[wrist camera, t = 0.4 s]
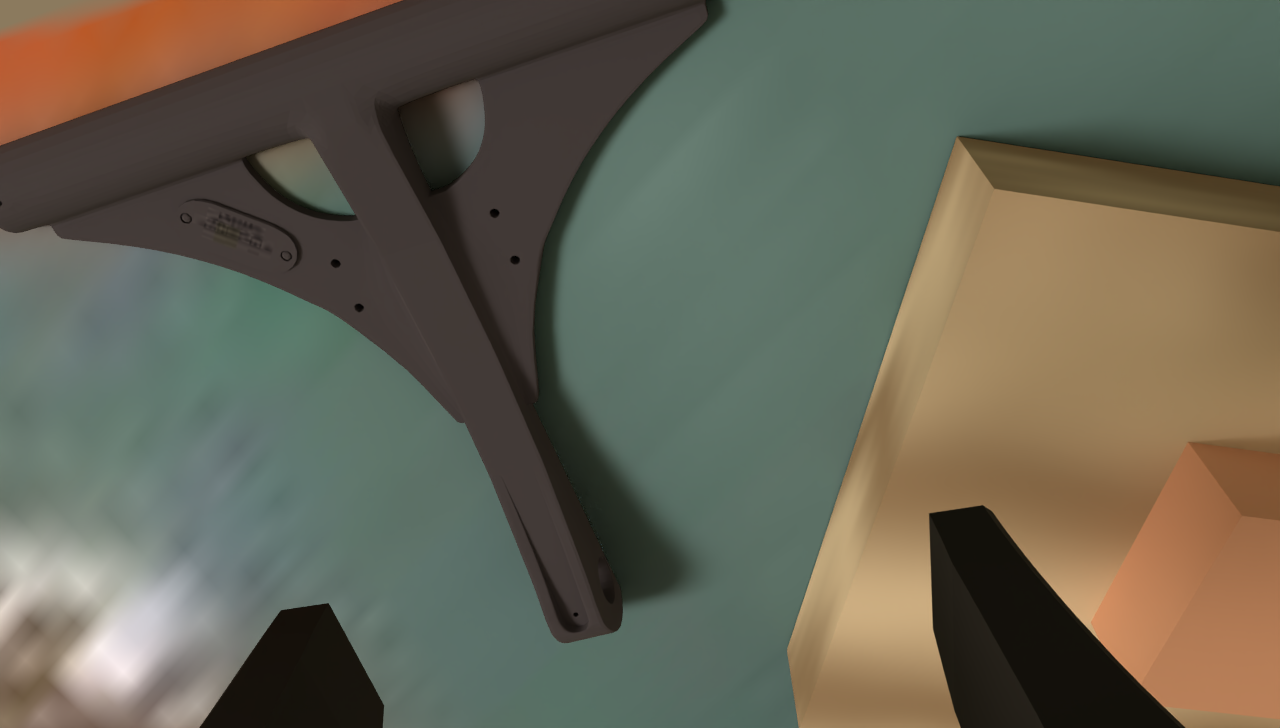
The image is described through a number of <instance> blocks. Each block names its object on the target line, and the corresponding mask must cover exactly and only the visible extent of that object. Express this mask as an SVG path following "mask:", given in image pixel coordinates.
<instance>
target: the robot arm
mask: <svg viewBox="0 0 1280 728" xmlns="http://www.w3.org/2000/svg"><path fill="white" fill-rule="evenodd" d="M929 530H930V560H931V590H932V620H933V631H934V635H935V639H936V643H937V647H938V651H939V654H940V658H941V662H942V666H943V670H944V674H945V678H946V681H947V685H948V689H949V692H950V696H951V700H952V704H953V707H954V711H955V714H956V716H957V719H958V722H959V725H960V727H961V728H1185V727H1184V726H1183V725H1182V724H1181V723H1180V722H1179V721H1178V720H1177V719H1176V718H1175V717H1174V716H1173V715H1172V714H1171V713H1170V712H1169V711H1168V710H1167V709H1166V708H1165V707H1164V706H1162V705H1161V704H1160V703H1159V702H1158V701H1157V700H1156V699H1155V698H1154V697H1153V696H1152V695H1151V694H1150V693H1149V692H1148V691H1147V690H1146V689H1145V688H1144V687H1143V686H1142V685H1141V684H1140V683H1139V682H1138V681H1137V680H1136V679H1135V678H1134V677H1133V676H1132V675H1131V674H1130V673H1129V672H1128V671H1127V670H1126V669H1125V668H1124V667H1123V666H1122V665H1121V664H1120V663H1119V662H1118V661H1117V659H1116V658H1115V657H1114V656H1113V655H1112V654H1111V653H1110V652H1109V651H1108V650H1107V649H1106V648H1105V647H1104V645H1103V644H1102V643H1101V642H1100V641H1099V640H1098V639H1097V638H1096V637H1095V636H1094V635H1093V634H1092V632H1091V631H1090V630H1089V629H1088V628H1087V627H1086V626H1085V625H1084V624H1083V623H1082V622H1081V621H1080V619H1079V618H1078V617H1077V616H1076V615H1075V614H1074V613H1073V612H1072V611H1071V609H1070V608H1069V607H1068V606H1067V605H1066V604H1065V603H1064V601H1063V600H1062V599H1061V598H1060V597H1059V596H1058V594H1057V593H1056V592H1055V591H1054V590H1053V589H1052V587H1051V586H1050V585H1049V584H1048V583H1047V581H1046V580H1045V579H1044V578H1043V577H1042V575H1041V574H1040V573H1039V572H1038V571H1037V569H1036V568H1035V567H1034V566H1033V564H1032V563H1031V562H1030V561H1029V560H1028V558H1027V557H1026V556H1025V555H1024V553H1023V552H1022V551H1021V549H1020V548H1019V547H1018V546H1017V544H1016V543H1015V542H1014V540H1013V539H1012V538H1011V536H1010V535H1009V534H1008V532H1007V531H1006V530H1005V528H1004V527H1003V526H1002V524H1001V523H1000V522H999V520H998V519H997V517H996V516H995V514H994V513H993V512H992V511H991V510H990V509H988V508H986V507H985V506H983V505H981V506H974V507H967V508H961V509H954V510H947V511H941V512H934V513H929ZM383 713H384V705H383V703H382V701H381V699H380V697H379V695H378V693H377V692H376V690H375V688H374V686H373V684H372V682H371V680H370V679H369V677H368V675H367V673H366V671H365V669H364V668H363V666H362V664H361V662H360V660H359V658H358V656H357V655H356V653H355V651H354V649H353V647H352V645H351V644H350V642H349V640H348V638H347V636H346V634H345V632H344V631H343V629H342V627H341V625H340V623H339V621H338V620H337V618H336V616H335V614H334V612H333V610H332V608H331V607H330V605H329V603H327V604H320V605H313V606H307V607H300V608H293V609H287V610H281V611H280V612H279V614H278V615H277V617H276V618H275V619H274V621H273V622H272V624H271V625H270V626H269V628H268V629H267V631H266V632H265V633H264V635H263V636H262V638H261V639H260V640H259V642H258V643H257V645H256V646H255V648H254V649H253V651H252V652H251V654H250V655H249V656H248V658H247V659H246V661H245V662H244V664H243V665H242V667H241V668H240V670H239V671H238V673H237V674H236V676H235V677H234V678H233V680H232V681H231V683H230V684H229V686H228V687H227V689H226V690H225V692H224V693H223V694H222V696H221V697H220V699H219V700H218V702H217V703H216V705H215V706H214V708H213V709H212V710H211V712H210V713H209V715H208V716H207V718H206V719H205V721H204V722H203V723H202V725H201V726H200V728H383Z"/></svg>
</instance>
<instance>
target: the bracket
mask: <svg viewBox="0 0 1280 728" xmlns="http://www.w3.org/2000/svg"><path fill="white" fill-rule="evenodd" d="M707 18H708V10H707V6H706V0H403V1H400V2H397V3H394V4H392V5H389V6H386V7H383V8H380V9H378V10H375V11H372V12H369V13H367V14H364V15H361V16H358V17H356V18H353V19H350V20H347V21H344V22H342V23H339V24H336V25H333V26H331V27H328V28H325V29H322V30H319V31H317V32H314V33H311V34H308V35H306V36H303V37H300V38H297V39H295V40H292V41H289V42H286V43H283V44H281V45H278V46H275V47H272V48H270V49H267V50H264V51H261V52H259V53H256V54H253V55H250V56H247V57H245V58H242V59H239V60H236V61H234V62H231V63H228V64H225V65H223V66H220V67H217V68H214V69H211V70H209V71H206V72H203V73H200V74H198V75H195V76H192V77H189V78H187V79H184V80H181V81H178V82H175V83H173V84H170V85H167V86H164V87H162V88H159V89H156V90H153V91H150V92H148V93H145V94H142V95H139V96H137V97H134V98H131V99H128V100H126V101H123V102H120V103H117V104H114V105H112V106H109V107H106V108H103V109H101V110H98V111H95V112H92V113H90V114H87V115H84V116H81V117H78V118H76V119H73V120H70V121H67V122H65V123H62V124H59V125H56V126H54V127H51V128H48V129H45V130H42V131H40V132H37V133H34V134H31V135H29V136H26V137H23V138H20V139H18V140H15V141H12V142H9V143H7V144H4V145H1V146H0V228H1V229H3V230H5V231H8V232H13V233H19V232H24V231H28V230H31V229H34V228H37V227H41V226H45V225H50V226H52V228H53V229H54V231H55V233H56V234H57V235H58V236H59V237H61V238H64V239H71V240H81V241H91V242H101V243H111V244H119V245H126V246H134V247H140V248H146V249H152V250H158V251H163V252H168V253H172V254H177V255H181V256H185V257H189V258H193V259H197V260H201V261H205V262H208V263H211V264H215V265H218V266H222V267H225V268H228V269H231V270H234V271H237V272H240V273H242V274H245V275H248V276H250V277H253V278H256V279H258V280H261V281H263V282H265V283H268V284H270V285H273V286H275V287H277V288H280V289H282V290H284V291H286V292H289V293H291V294H293V295H295V296H297V297H299V298H301V299H304V300H306V301H308V302H310V303H312V304H315V305H317V306H319V307H321V308H323V309H325V310H327V311H329V312H331V313H333V314H334V315H336V316H337V317H339V318H340V319H342V320H343V321H345V322H346V323H347V324H349V325H350V326H352V327H353V328H354V329H356V330H357V331H359V332H360V333H361V334H363V335H364V336H365V337H367V338H368V339H369V340H370V341H372V342H373V343H374V344H376V345H377V346H378V347H380V348H381V349H382V350H384V351H385V352H386V353H387V354H388V355H390V356H391V357H392V358H393V359H394V360H396V361H397V362H398V363H399V364H400V365H402V366H403V367H404V368H405V369H406V370H408V371H409V372H410V373H411V374H412V375H413V376H414V377H415V378H416V379H417V380H418V381H419V382H420V383H421V384H422V385H423V386H424V387H425V388H426V389H427V390H428V391H429V393H430V394H431V395H432V396H433V397H434V398H435V399H436V400H437V401H438V402H439V403H440V404H441V405H442V406H443V407H444V408H445V409H446V410H447V411H448V412H449V414H450V415H451V416H452V417H453V418H454V419H455V420H456V421H457V422H459V423H464V422H465V424H466V426H467V428H468V430H469V433H470V435H471V437H472V439H473V441H474V443H475V446H476V448H477V450H478V452H479V454H480V456H481V459H482V461H483V463H484V465H485V467H486V469H487V472H488V474H489V476H490V478H491V481H492V483H493V485H494V488H495V490H496V493H497V495H498V498H499V500H500V503H501V505H502V508H503V510H504V513H505V515H506V518H507V520H508V523H509V525H510V528H511V530H512V533H513V535H514V538H515V540H516V543H517V545H518V548H519V550H520V553H521V555H522V557H523V560H524V562H525V565H526V567H527V570H528V572H529V575H530V578H531V580H532V583H533V585H534V588H535V590H536V593H537V596H538V599H539V602H540V605H541V608H542V611H543V614H544V616H545V619H546V622H547V624H548V626H549V628H550V631H551V633H552V635H553V636H554V637H555V638H556V639H557V640H558V641H559V642H561V643H570V642H574V641H578V640H583V639H587V638H591V637H596V636H600V635H604V634H609V633H613V632H615V631H617V630H618V629H619V628H620V626H621V622H622V614H623V606H622V595H621V589H620V586H619V584H618V582H617V580H616V578H615V576H614V574H613V572H612V569H611V567H610V565H609V563H608V561H607V559H606V557H605V555H604V553H603V551H602V549H601V546H600V544H599V542H598V540H597V538H596V536H595V534H594V532H593V530H592V527H591V525H590V523H589V521H588V519H587V517H586V515H585V513H584V511H583V509H582V506H581V504H580V502H579V500H578V498H577V496H576V494H575V492H574V490H573V488H572V486H571V483H570V481H569V479H568V477H567V475H566V473H565V471H564V469H563V467H562V465H561V462H560V460H559V458H558V456H557V454H556V452H555V450H554V448H553V446H552V444H551V441H550V439H549V437H548V435H547V433H546V431H545V429H544V427H543V425H542V423H541V421H540V418H539V416H538V414H537V412H536V410H535V408H534V406H533V403H535V402H537V400H538V396H539V384H538V372H537V362H536V350H535V333H534V323H535V303H536V296H537V289H538V282H539V275H540V268H541V262H542V256H543V250H544V244H545V241H546V238H547V235H548V233H549V230H550V228H551V226H552V223H553V221H554V219H555V216H556V214H557V212H558V209H559V207H560V204H561V202H562V200H563V198H564V196H565V193H566V191H567V189H568V187H569V185H570V183H571V181H572V179H573V177H574V176H575V174H576V172H577V170H578V168H579V166H580V165H581V163H582V161H583V160H584V158H585V156H586V155H587V153H588V152H589V150H590V148H591V147H592V145H593V144H594V142H595V141H596V140H597V138H598V137H599V135H600V134H601V132H602V131H603V129H604V128H605V127H606V125H607V124H608V123H609V121H610V120H611V119H612V117H613V116H614V115H615V114H616V112H617V111H618V110H619V109H620V107H621V106H622V105H623V104H624V103H625V101H626V100H627V99H628V98H629V97H630V95H631V94H632V93H633V92H634V91H635V90H636V89H637V88H638V87H639V86H640V85H641V83H642V82H643V81H644V80H645V79H646V78H647V77H648V76H649V75H650V74H651V73H652V72H653V71H654V70H655V69H656V68H657V67H658V66H659V65H660V64H661V63H662V62H663V61H664V60H665V59H666V58H667V57H668V56H669V55H670V54H671V53H673V52H674V51H675V50H676V49H677V48H678V47H679V46H680V45H681V44H682V43H683V42H684V41H686V40H687V39H688V38H689V37H690V36H691V35H692V34H693V33H694V32H695V31H696V30H697V29H699V28H700V27H701V26H702V24H703V23H704V22H705V21H706V20H707ZM472 79H476V80H478V81H479V84H480V86H481V90H482V94H483V101H484V110H485V130H484V136H483V141H482V144H481V147H480V150H479V152H478V154H477V156H476V158H475V159H474V161H473V162H472V164H471V165H470V166H469V167H468V168H467V170H466V171H465V172H464V173H463V174H462V175H460V176H459V177H458V178H457V179H456V180H455V181H453V182H452V183H451V184H449V185H447V186H445V187H442V188H439V189H436V190H431V189H430V187H429V185H428V183H427V181H426V179H425V177H424V175H423V173H422V171H421V169H420V167H419V165H418V162H417V160H416V158H415V156H414V153H413V151H412V149H411V146H410V144H409V141H408V139H407V137H406V134H405V131H404V128H403V125H402V123H401V119H400V116H399V113H398V107H400V106H402V105H404V104H406V103H408V102H411V101H413V100H416V99H418V98H421V97H423V96H426V95H429V94H432V93H434V92H437V91H440V90H442V89H445V88H448V87H451V86H453V85H456V84H459V83H462V82H465V81H468V80H472ZM305 138H309V139H311V141H312V142H313V144H314V146H315V147H316V149H317V151H318V153H319V154H320V156H321V158H322V159H323V161H324V163H325V164H326V166H327V168H328V169H329V171H330V173H331V174H332V176H333V178H334V179H335V181H336V183H337V184H338V186H339V188H340V189H341V191H342V193H343V194H344V196H345V198H346V199H347V201H348V203H349V204H350V206H351V208H352V209H353V211H354V213H355V214H356V215H349V216H346V215H332V214H325V213H321V212H316V211H313V210H310V209H307V208H305V207H302V206H300V205H298V204H296V203H294V202H292V201H290V200H288V199H287V198H285V197H284V196H282V195H281V194H279V193H278V192H277V191H275V190H274V189H273V188H272V187H271V186H270V185H269V184H268V183H267V182H266V181H265V180H264V179H263V178H262V177H261V176H260V175H259V174H258V173H257V172H256V171H255V170H254V169H253V167H252V166H251V165H250V163H249V162H248V160H247V158H246V156H249V155H252V154H254V153H257V152H260V151H263V150H267V149H270V148H273V147H276V146H279V145H283V144H286V143H289V142H293V141H296V140H300V139H305ZM493 209H497V210H498V211H499V212H495V211H494V210H493ZM514 256H518V257H519V258H515V257H514ZM336 259H337V260H339V261H337V260H336ZM361 304H362V305H361Z"/></svg>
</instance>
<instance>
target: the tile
mask: <svg viewBox="0 0 1280 728" xmlns="http://www.w3.org/2000/svg"><path fill="white" fill-rule="evenodd" d="M1091 624H1092V626H1093V628H1094V630H1095V632H1096V634H1097V636H1098V639H1099V641H1100V642H1101V643H1102V644H1103V645H1104V647H1105V648H1106V649H1107V650H1108V651H1109V652H1110V653H1111V654H1112V655H1113V656H1114V657H1115V658H1116V659H1117V661H1118V662H1119V663H1120V664H1121V665H1122V666H1123V667H1124V668H1125V669H1126V670H1127V671H1128V672H1129V673H1130V674H1131V675H1132V676H1133V677H1134V678H1135V679H1136V680H1137V681H1138V682H1139V683H1140V684H1141V685H1142V686H1143V687H1144V688H1145V689H1146V690H1147V691H1148V692H1149V693H1150V694H1151V695H1152V696H1153V697H1154V698H1155V699H1156V700H1157V701H1158V702H1159V703H1160V704H1161V705H1162V706H1164V707H1172V708H1182V709H1191V710H1200V711H1209V712H1218V713H1227V714H1236V715H1245V716H1254V717H1263V718H1272V719H1280V454H1275V453H1268V452H1260V451H1253V450H1245V449H1237V448H1230V447H1222V446H1215V445H1207V444H1200V443H1192V442H1188V443H1187V445H1186V447H1185V448H1184V450H1183V452H1182V454H1181V456H1180V458H1179V460H1178V461H1177V463H1176V465H1175V467H1174V469H1173V471H1172V472H1171V474H1170V476H1169V478H1168V480H1167V482H1166V484H1165V485H1164V487H1163V489H1162V491H1161V493H1160V495H1159V497H1158V498H1157V500H1156V502H1155V504H1154V506H1153V508H1152V510H1151V511H1150V513H1149V515H1148V517H1147V519H1146V521H1145V523H1144V524H1143V526H1142V528H1141V530H1140V532H1139V534H1138V536H1137V537H1136V539H1135V541H1134V543H1133V545H1132V547H1131V549H1130V550H1129V552H1128V554H1127V556H1126V558H1125V560H1124V562H1123V563H1122V565H1121V567H1120V569H1119V571H1118V573H1117V575H1116V576H1115V578H1114V580H1113V582H1112V584H1111V586H1110V587H1109V589H1108V591H1107V593H1106V595H1105V597H1104V599H1103V600H1102V602H1101V604H1100V606H1099V608H1098V610H1097V612H1096V613H1095V615H1094V617H1093V619H1092V621H1091Z"/></svg>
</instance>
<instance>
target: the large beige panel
mask: <svg viewBox="0 0 1280 728" xmlns="http://www.w3.org/2000/svg"><path fill="white" fill-rule="evenodd" d="M1188 442H1192V443H1200V444H1207V445H1215V446H1222V447H1230V448H1237V449H1245V450H1253V451H1260V452H1268V453H1275V454H1280V186H1273V185H1267V184H1261V183H1254V182H1248V181H1241V180H1235V179H1228V178H1222V177H1215V176H1209V175H1202V174H1196V173H1190V172H1183V171H1177V170H1170V169H1164V168H1157V167H1151V166H1144V165H1138V164H1131V163H1125V162H1119V161H1112V160H1106V159H1099V158H1093V157H1086V156H1080V155H1073V154H1067V153H1061V152H1054V151H1048V150H1041V149H1035V148H1028V147H1022V146H1015V145H1009V144H1002V143H996V142H990V141H983V140H977V139H970V138H964V137H957V138H956V141H955V144H954V147H953V150H952V153H951V156H950V159H949V162H948V165H947V168H946V171H945V174H944V177H943V180H942V183H941V186H940V189H939V192H938V195H937V198H936V201H935V204H934V207H933V210H932V213H931V216H930V219H929V222H928V225H927V228H926V231H925V234H924V237H923V240H922V244H921V247H920V250H919V253H918V256H917V259H916V262H915V265H914V268H913V271H912V274H911V277H910V280H909V283H908V286H907V289H906V292H905V295H904V298H903V301H902V304H901V307H900V310H899V313H898V316H897V319H896V322H895V325H894V328H893V331H892V334H891V337H890V340H889V343H888V346H887V349H886V352H885V355H884V358H883V361H882V364H881V367H880V370H879V373H878V376H877V380H876V383H875V386H874V389H873V392H872V395H871V398H870V401H869V404H868V407H867V410H866V413H865V416H864V419H863V422H862V425H861V428H860V431H859V434H858V437H857V440H856V443H855V446H854V449H853V452H852V455H851V458H850V461H849V464H848V467H847V470H846V473H845V476H844V479H843V482H842V485H841V488H840V491H839V494H838V497H837V500H836V503H835V506H834V509H833V513H832V516H831V519H830V522H829V525H828V528H827V531H826V534H825V537H824V540H823V543H822V546H821V549H820V552H819V555H818V558H817V561H816V564H815V567H814V570H813V573H812V576H811V579H810V582H809V585H808V588H807V591H806V594H805V597H804V600H803V603H802V606H801V609H800V612H799V615H798V618H797V621H796V624H795V627H794V630H793V633H792V636H791V639H790V642H789V645H788V649H787V653H788V659H789V666H790V672H791V679H792V685H793V692H794V698H795V705H796V712H797V718H798V725H799V728H961V727H960V725H959V722H958V719H957V716H956V714H955V711H954V707H953V704H952V700H951V696H950V692H949V689H948V685H947V681H946V678H945V674H944V670H943V666H942V662H941V658H940V654H939V651H938V647H937V643H936V639H935V635H934V631H933V620H932V590H931V560H930V530H929V513H934V512H941V511H947V510H954V509H961V508H967V507H974V506H981V505H983V506H985V507H986V508H988V509H990V510H991V511H992V512H993V513H994V514H995V516H996V517H997V519H998V520H999V522H1000V523H1001V524H1002V526H1003V527H1004V528H1005V530H1006V531H1007V532H1008V534H1009V535H1010V536H1011V538H1012V539H1013V540H1014V542H1015V543H1016V544H1017V546H1018V547H1019V548H1020V549H1021V551H1022V552H1023V553H1024V555H1025V556H1026V557H1027V558H1028V560H1029V561H1030V562H1031V563H1032V564H1033V566H1034V567H1035V568H1036V569H1037V571H1038V572H1039V573H1040V574H1041V575H1042V577H1043V578H1044V579H1045V580H1046V581H1047V583H1048V584H1049V585H1050V586H1051V587H1052V589H1053V590H1054V591H1055V592H1056V593H1057V594H1058V596H1059V597H1060V598H1061V599H1062V600H1063V601H1064V603H1065V604H1066V605H1067V606H1068V607H1069V608H1070V609H1071V611H1072V612H1073V613H1074V614H1075V615H1076V616H1077V617H1078V618H1079V619H1080V621H1081V622H1082V623H1083V624H1084V625H1085V626H1086V627H1087V628H1088V629H1089V630H1090V631H1091V632H1092V634H1093V635H1094V636H1095V637H1096V638H1097V639H1098V636H1097V634H1096V632H1095V630H1094V628H1093V626H1092V624H1091V621H1092V619H1093V617H1094V615H1095V613H1096V612H1097V610H1098V608H1099V606H1100V604H1101V602H1102V600H1103V599H1104V597H1105V595H1106V593H1107V591H1108V589H1109V587H1110V586H1111V584H1112V582H1113V580H1114V578H1115V576H1116V575H1117V573H1118V571H1119V569H1120V567H1121V565H1122V563H1123V562H1124V560H1125V558H1126V556H1127V554H1128V552H1129V550H1130V549H1131V547H1132V545H1133V543H1134V541H1135V539H1136V537H1137V536H1138V534H1139V532H1140V530H1141V528H1142V526H1143V524H1144V523H1145V521H1146V519H1147V517H1148V515H1149V513H1150V511H1151V510H1152V508H1153V506H1154V504H1155V502H1156V500H1157V498H1158V497H1159V495H1160V493H1161V491H1162V489H1163V487H1164V485H1165V484H1166V482H1167V480H1168V478H1169V476H1170V474H1171V472H1172V471H1173V469H1174V467H1175V465H1176V463H1177V461H1178V460H1179V458H1180V456H1181V454H1182V452H1183V450H1184V448H1185V447H1186V445H1187V443H1188ZM1098 640H1099V639H1098ZM1165 708H1166V709H1167V710H1168V711H1169V712H1170V713H1171V714H1172V715H1173V716H1174V717H1175V718H1176V719H1177V720H1178V721H1179V722H1180V723H1181V724H1182V725H1183V726H1184V727H1185V728H1280V719H1272V718H1263V717H1254V716H1245V715H1236V714H1227V713H1218V712H1209V711H1200V710H1191V709H1182V708H1172V707H1165Z"/></svg>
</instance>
